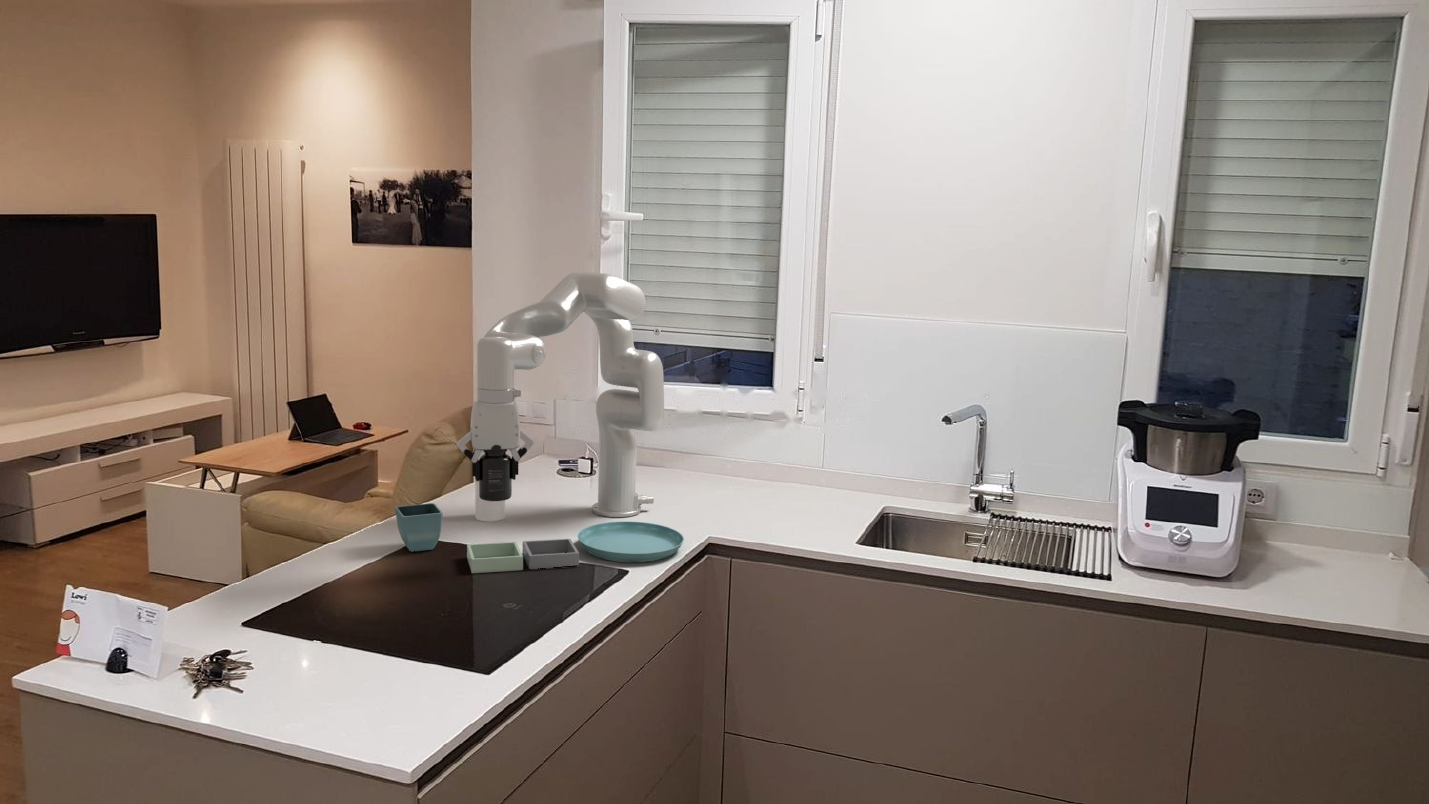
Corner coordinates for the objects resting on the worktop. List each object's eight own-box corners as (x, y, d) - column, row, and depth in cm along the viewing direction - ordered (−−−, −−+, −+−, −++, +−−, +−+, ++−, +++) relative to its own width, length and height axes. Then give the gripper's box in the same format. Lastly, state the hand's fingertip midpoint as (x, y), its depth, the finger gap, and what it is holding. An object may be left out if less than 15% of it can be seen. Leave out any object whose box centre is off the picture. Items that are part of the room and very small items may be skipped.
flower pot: (402, 556, 229) (402, 516, 227) (395, 544, 237) (394, 506, 235) (443, 551, 233) (443, 512, 232) (434, 540, 241) (434, 502, 239)
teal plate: (604, 572, 224) (605, 558, 224) (560, 541, 245) (561, 527, 244) (702, 558, 237) (703, 544, 236) (653, 529, 257) (653, 516, 257)
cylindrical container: (501, 521, 257) (501, 421, 253) (472, 520, 258) (472, 420, 253) (507, 514, 265) (508, 416, 260) (479, 512, 265) (479, 415, 260)
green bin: (516, 554, 233) (516, 541, 233) (522, 570, 223) (522, 556, 223) (467, 557, 230) (467, 544, 229) (471, 573, 220) (471, 559, 219)
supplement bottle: (517, 496, 226) (518, 441, 224) (501, 503, 220) (501, 447, 218) (489, 492, 228) (489, 438, 226) (472, 499, 222) (472, 444, 220)
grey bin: (569, 551, 237) (570, 538, 236) (578, 566, 227) (579, 553, 226) (522, 554, 234) (522, 541, 233) (529, 569, 224) (529, 555, 223)
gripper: (534, 392, 227) (533, 473, 230) (451, 393, 221) (451, 476, 224) (539, 398, 220) (538, 481, 223) (454, 399, 214) (454, 485, 217)
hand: (495, 478), depth 223 cm, fingers closed on supplement bottle, 6 cm apart
